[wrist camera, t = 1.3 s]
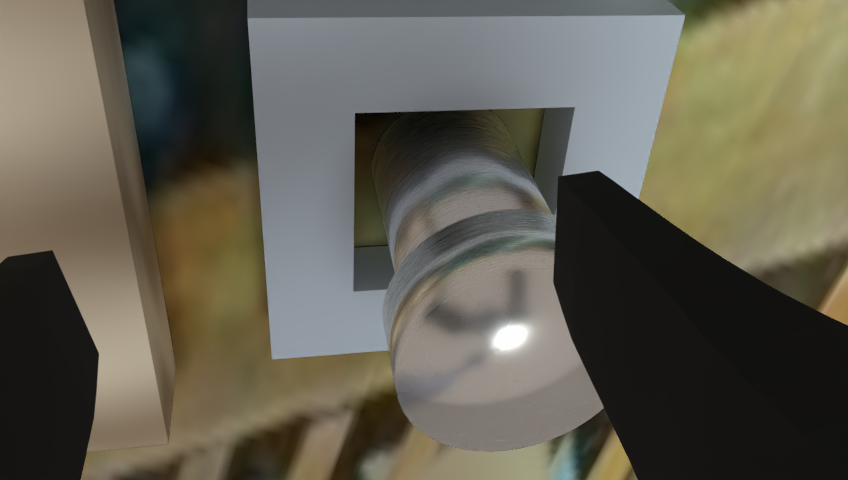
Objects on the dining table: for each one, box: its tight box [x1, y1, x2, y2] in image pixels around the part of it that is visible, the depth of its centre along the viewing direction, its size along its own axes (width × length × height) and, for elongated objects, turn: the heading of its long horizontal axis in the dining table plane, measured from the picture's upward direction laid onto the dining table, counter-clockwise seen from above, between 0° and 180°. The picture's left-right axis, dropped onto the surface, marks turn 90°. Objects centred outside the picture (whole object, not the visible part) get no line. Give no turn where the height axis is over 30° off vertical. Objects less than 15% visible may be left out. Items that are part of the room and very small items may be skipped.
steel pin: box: [372, 110, 604, 452], centre depth 19 cm, size 5×5×8 cm
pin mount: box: [247, 0, 685, 359], centre depth 22 cm, size 10×10×2 cm
